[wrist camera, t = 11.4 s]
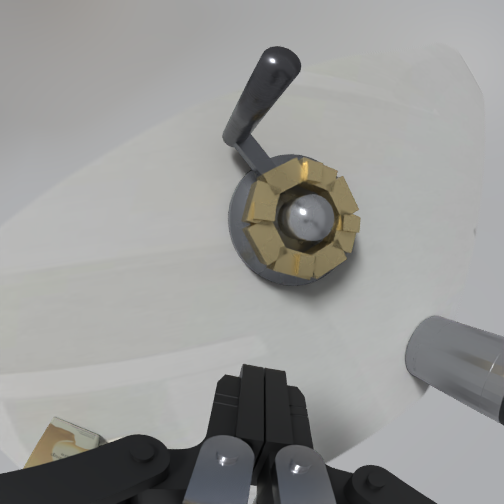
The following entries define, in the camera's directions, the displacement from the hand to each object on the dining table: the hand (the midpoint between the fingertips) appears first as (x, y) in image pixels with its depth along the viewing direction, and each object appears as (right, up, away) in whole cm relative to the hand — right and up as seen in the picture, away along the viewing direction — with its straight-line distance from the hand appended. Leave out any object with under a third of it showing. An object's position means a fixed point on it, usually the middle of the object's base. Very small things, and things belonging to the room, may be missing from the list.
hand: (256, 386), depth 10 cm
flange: (+4, +8, +21) cm, 23 cm away
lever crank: (+3, +10, +19) cm, 22 cm away
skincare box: (-21, -17, +17) cm, 32 cm away
